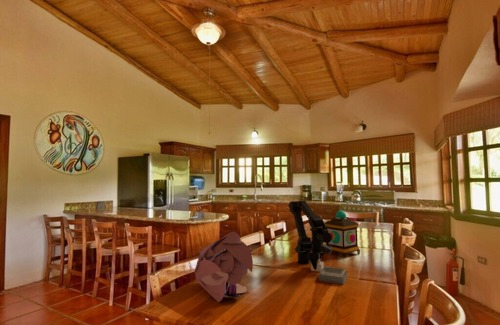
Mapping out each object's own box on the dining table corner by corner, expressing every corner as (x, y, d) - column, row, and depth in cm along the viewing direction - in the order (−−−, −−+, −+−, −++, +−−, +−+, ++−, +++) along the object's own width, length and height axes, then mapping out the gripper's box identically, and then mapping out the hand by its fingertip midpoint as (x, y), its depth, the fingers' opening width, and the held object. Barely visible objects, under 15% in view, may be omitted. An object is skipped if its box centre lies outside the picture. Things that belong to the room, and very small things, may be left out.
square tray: (318, 280, 140) (318, 271, 141) (323, 273, 151) (323, 265, 151) (343, 284, 135) (343, 275, 135) (346, 277, 146) (346, 268, 146)
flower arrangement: (263, 306, 123) (275, 242, 127) (225, 313, 107) (240, 239, 111) (214, 279, 148) (225, 226, 152) (176, 281, 131) (190, 222, 135)
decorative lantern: (363, 254, 191) (361, 210, 193) (345, 259, 180) (343, 212, 182) (339, 248, 208) (338, 208, 210) (321, 252, 196) (320, 210, 199)
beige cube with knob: (310, 270, 157) (310, 259, 158) (313, 267, 163) (313, 257, 163) (321, 272, 155) (321, 261, 155) (323, 269, 160) (323, 258, 160)
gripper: (327, 244, 148) (328, 274, 147) (334, 237, 165) (334, 264, 163) (307, 242, 153) (307, 271, 152) (315, 236, 170) (315, 262, 168)
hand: (317, 267), depth 159 cm, fingers open, 9 cm apart
